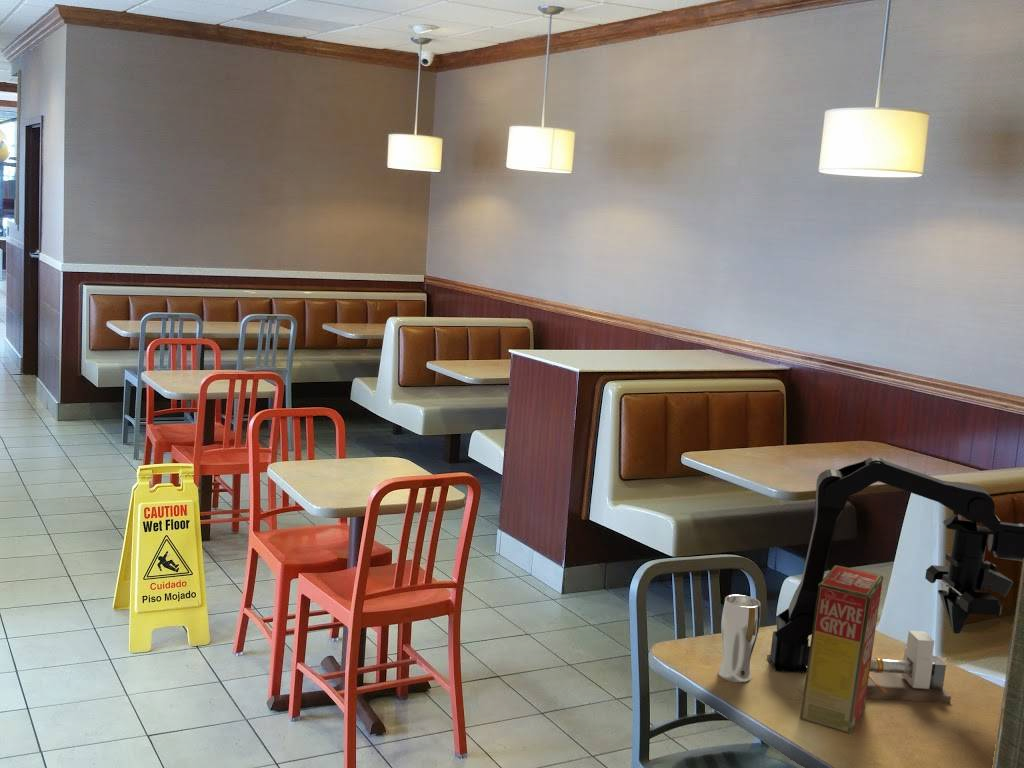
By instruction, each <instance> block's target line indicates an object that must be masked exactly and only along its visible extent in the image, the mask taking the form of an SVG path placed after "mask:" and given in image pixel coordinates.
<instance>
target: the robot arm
mask: <svg viewBox="0 0 1024 768" xmlns="http://www.w3.org/2000/svg"><path fill="white" fill-rule="evenodd" d="M878 482H879V483H882V484H885V485H887V486H890V487H893V488H896V489H899V490H902V491H905V492H908V493H911V494H914V495H916V496H920V497H922V498H925V499H928V500H931V501H934V502H936V503H939V504H941V505H943V506H945V507H946V508H948V509H949V510H951V511H952V512H954V513H953V514H952V515H951V516H950V517H949V518H946V519H945V520H943V521H942V522H943V524H944V526H945V528H946V529H948V530H953V535H952V543H951V549H950V553H945V560H946V561H948V562H949V563H948V565H935V564H934V565H930V566H929V567H928V568H927V569H926V570H925V575H924V576H925V577H924V578H925V580H927V581H928V582H929V583H931V584H935V583H936V582H937V580H941V584H942V588H941V589H938V590H937V593H938V594H939V597H940V599H941V602H942V605H943V608H944V610H945V614H946V616H947V620H948V623H949V626H950V629H951V631H952V633H953V634H957V635H958V634H960V633H961V631H962V630H963V628H964V627H965V624H966V623H967V621H968V619H969V617H970V616H971V615H982V616H1001V614H1002V609H1003V604H1002V603H1001V601H1000V599H998V598H996V597H995V596H994V595H993V594H991V593H990V592H988V589H989V590H991V591H993V592H996V593H998V594H1000V596H1001V597H1006V596H1007V595H1008V593H1009V591H1010V589H1011V588H1012V586H1013V584H1014V581H1013V580H1012V579H1010V578H1008V577H1007V576H1005V575H1004V574H1003V573H1001V572H999V571H998V566H997V565H996V564H994V563H992V562H990V561H988V560H986V561H985V555H986V550H987V549H988V552H992V555H993V557H994V558H996V559H1004V560H1011V561H1019V562H1024V561H1023V558H1024V523H1012V522H1007V521H1005V522H1004V521H1001V519H1000V518H999V517H998V515H996V513H995V509H996V506H995V502H994V500H993V499H994V498H992V496H991V495H990V494H989V493H988V492H987V490H985V488H983V487H982V486H980V485H977V484H972V483H967V482H962V481H961V482H960V481H949V480H948V481H947V480H942V479H939V478H937V477H933V476H930V475H928V474H925V473H921V472H920V471H916V470H914V469H911V468H907V467H904V466H902V465H900V464H895V463H893V462H890V461H886V460H884V459H883V458H882V457H880V456H871V457H869V458H867V459H864V460H862V461H859V462H856V463H852V464H849V465H845V466H843V467H841V468H839V469H832V468H829V469H825V470H824V471H822V472H820V473H819V474H818V476H817V478H816V484H815V486H816V487H815V489H816V490H815V492H816V493H815V510H816V511H815V518H814V522H813V526H812V531H811V535H810V539H809V544H808V549H807V552H806V553H807V555H806V559H805V562H804V567H803V572H802V576H801V581H800V583H799V584H798V586H797V588H796V590H794V594H793V596H792V598H791V599H790V600H791V601H790V603H789V605H788V608H786V609H785V610H783V611H782V612H780V613H779V614H778V615H776V630H775V631H772V638H771V644H770V645H771V646H770V654H768V655H766V658H767V660H768V661H769V663H770V664H771V666H772V667H773V669H774V670H775V671H776V672H789V673H790V672H791V673H805V674H806V673H807V665H808V657H809V650H810V644H809V640H810V639H809V636H812V630H813V623H814V615H815V608H816V601H817V594H818V584H819V583H821V581H822V580H823V579H824V578H825V572H826V569H827V568H826V567H827V564H828V559H829V556H830V550H831V545H832V542H833V537H834V533H835V528H836V524H837V521H838V520H839V518H840V517H841V515H842V513H843V511H844V509H845V506H846V505H847V502H848V499H849V497H851V496H853V495H855V494H858V493H859V492H861V491H862V490H864V489H866V488H868V487H869V486H871V485H873V484H875V483H878ZM955 513H956V514H957V515H959V516H961V517H963V518H965V519H961V518H959V517H958V516H957V515H956V514H955ZM977 523H981V524H982V525H983V526H982V525H977ZM986 548H987V549H986ZM979 591H980V592H979Z"/></svg>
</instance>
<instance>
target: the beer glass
mask: <svg viewBox="0 0 1024 768" xmlns="http://www.w3.org/2000/svg"><path fill="white" fill-rule="evenodd" d="M760 621H761V602H760V600H758V599H757V598H755V597H752V596H750V595H749V596H748V595H745V594H744V595H743V594H729V595H727V596H725V597H724V605H723V609H722V614H721V623H720V624H721V625H720V626H721V627H720V628H721V633H720V634H721V647H722V655H721V656H722V657H721V660H720V661H721V662H720V665H719V668H718V673H717V674H718V675H719V677H720V676H721V677H720V678H722V679H723V680H725V681H728V682H731V683H737V682H740V684H741V682H743V683H747V682H749V681H751V678H752V673H751V659H752V655H753V652H754V648H755V644H756V642H757V639H758V634H759V629H760Z"/></svg>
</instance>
